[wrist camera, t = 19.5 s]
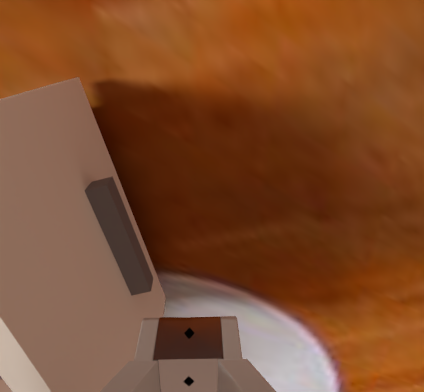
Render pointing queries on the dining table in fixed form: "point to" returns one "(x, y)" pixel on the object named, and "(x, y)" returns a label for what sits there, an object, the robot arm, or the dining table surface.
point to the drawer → (66, 249)
